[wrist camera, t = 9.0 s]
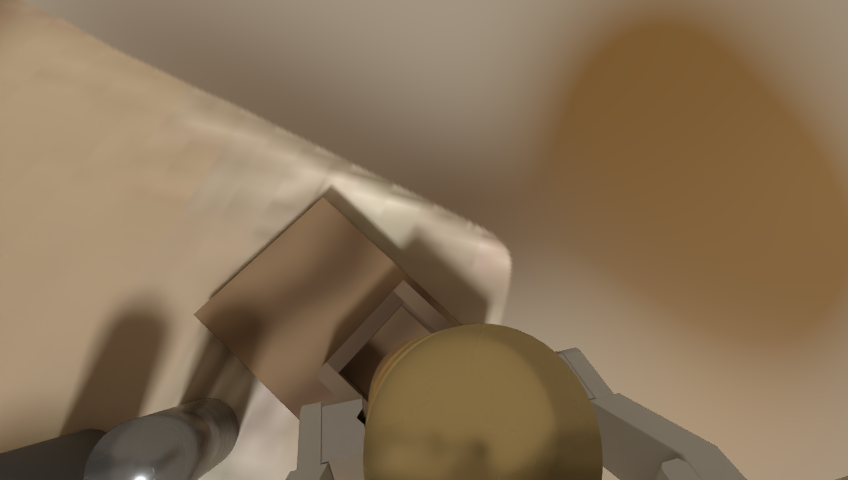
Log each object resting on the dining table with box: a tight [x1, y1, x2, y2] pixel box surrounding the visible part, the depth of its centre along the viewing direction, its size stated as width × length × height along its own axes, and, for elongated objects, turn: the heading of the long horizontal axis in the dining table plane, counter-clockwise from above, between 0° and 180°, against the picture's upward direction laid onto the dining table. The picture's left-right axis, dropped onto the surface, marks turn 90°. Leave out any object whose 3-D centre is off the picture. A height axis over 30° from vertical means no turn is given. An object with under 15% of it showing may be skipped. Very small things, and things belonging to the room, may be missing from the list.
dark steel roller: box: [84, 398, 238, 480], centre depth 23 cm, size 4×4×8 cm
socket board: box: [194, 197, 461, 420], centre depth 27 cm, size 20×12×4 cm, turn 48°
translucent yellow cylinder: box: [363, 324, 603, 480], centre depth 11 cm, size 4×4×8 cm
